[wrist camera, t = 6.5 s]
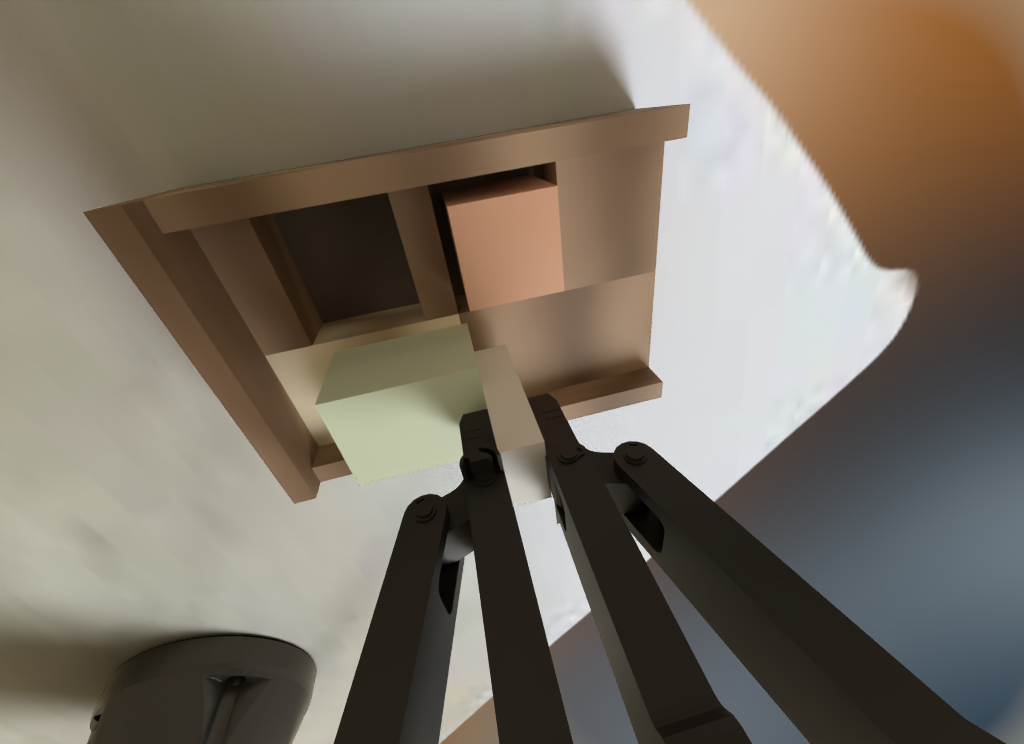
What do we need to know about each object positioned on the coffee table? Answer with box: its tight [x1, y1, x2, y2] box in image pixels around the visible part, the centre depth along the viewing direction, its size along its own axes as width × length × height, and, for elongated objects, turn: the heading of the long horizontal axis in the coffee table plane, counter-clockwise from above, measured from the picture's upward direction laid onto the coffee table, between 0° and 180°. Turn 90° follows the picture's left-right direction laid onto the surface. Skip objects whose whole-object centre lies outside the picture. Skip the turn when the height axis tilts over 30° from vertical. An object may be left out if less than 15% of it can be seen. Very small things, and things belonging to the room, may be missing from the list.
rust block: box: [442, 175, 565, 311], centre depth 16 cm, size 4×4×4 cm
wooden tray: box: [83, 104, 690, 504], centre depth 17 cm, size 19×13×5 cm
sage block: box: [315, 323, 487, 485], centre depth 17 cm, size 6×4×4 cm
